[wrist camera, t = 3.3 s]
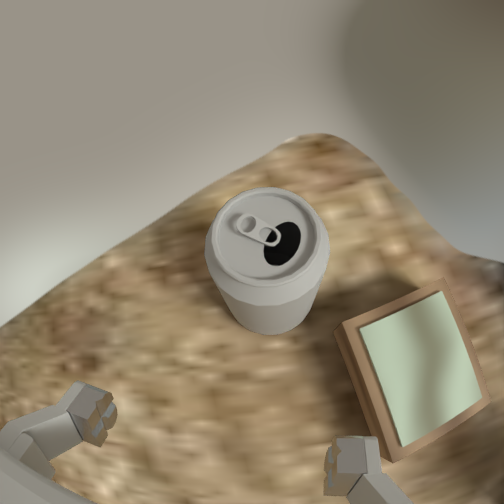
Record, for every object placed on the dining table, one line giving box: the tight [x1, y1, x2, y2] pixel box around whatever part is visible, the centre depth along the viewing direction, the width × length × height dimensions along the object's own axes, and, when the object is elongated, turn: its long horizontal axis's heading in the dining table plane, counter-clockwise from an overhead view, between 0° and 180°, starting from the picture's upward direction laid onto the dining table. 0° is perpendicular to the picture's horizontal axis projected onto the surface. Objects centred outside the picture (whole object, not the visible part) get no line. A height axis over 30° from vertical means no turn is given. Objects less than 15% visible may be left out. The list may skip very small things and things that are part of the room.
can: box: [204, 187, 330, 335], centre depth 23 cm, size 8×8×12 cm
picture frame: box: [333, 277, 491, 463], centre depth 22 cm, size 10×12×4 cm
